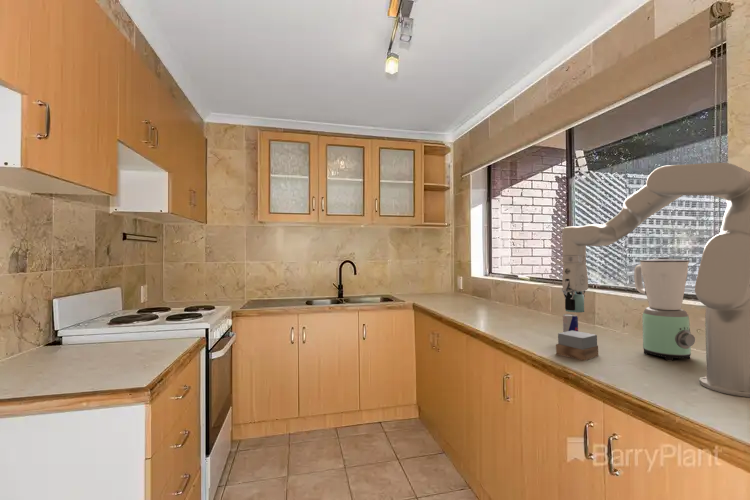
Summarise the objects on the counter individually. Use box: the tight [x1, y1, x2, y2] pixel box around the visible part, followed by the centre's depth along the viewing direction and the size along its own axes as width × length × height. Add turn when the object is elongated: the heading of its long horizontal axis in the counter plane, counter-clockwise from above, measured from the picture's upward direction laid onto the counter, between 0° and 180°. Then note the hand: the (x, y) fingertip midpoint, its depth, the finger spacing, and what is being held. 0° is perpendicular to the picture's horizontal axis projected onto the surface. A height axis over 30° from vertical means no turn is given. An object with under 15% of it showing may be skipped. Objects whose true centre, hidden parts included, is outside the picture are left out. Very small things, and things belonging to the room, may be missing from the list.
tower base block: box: [555, 343, 599, 361], centre depth 127 cm, size 10×10×4 cm
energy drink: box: [562, 313, 579, 332], centre depth 140 cm, size 5×5×12 cm
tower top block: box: [557, 330, 598, 350], centre depth 127 cm, size 9×9×4 cm
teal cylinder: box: [564, 294, 585, 314], centre depth 127 cm, size 6×6×6 cm
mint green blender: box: [633, 256, 696, 362], centre depth 124 cm, size 19×13×35 cm
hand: (574, 308), depth 127 cm, fingers closed on teal cylinder, 6 cm apart
